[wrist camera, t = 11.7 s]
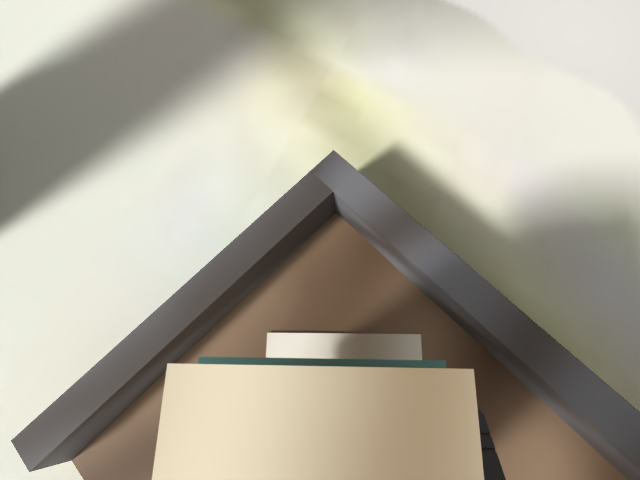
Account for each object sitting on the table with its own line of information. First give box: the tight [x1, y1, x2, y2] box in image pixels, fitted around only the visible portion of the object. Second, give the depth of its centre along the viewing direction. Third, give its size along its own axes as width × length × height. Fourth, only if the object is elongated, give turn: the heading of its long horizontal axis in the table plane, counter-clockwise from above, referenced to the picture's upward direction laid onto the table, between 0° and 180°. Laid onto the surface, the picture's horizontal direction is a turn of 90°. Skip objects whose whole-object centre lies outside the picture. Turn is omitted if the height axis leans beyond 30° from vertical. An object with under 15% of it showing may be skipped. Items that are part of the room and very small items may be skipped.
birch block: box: [152, 357, 484, 480], centre depth 11 cm, size 5×5×10 cm
